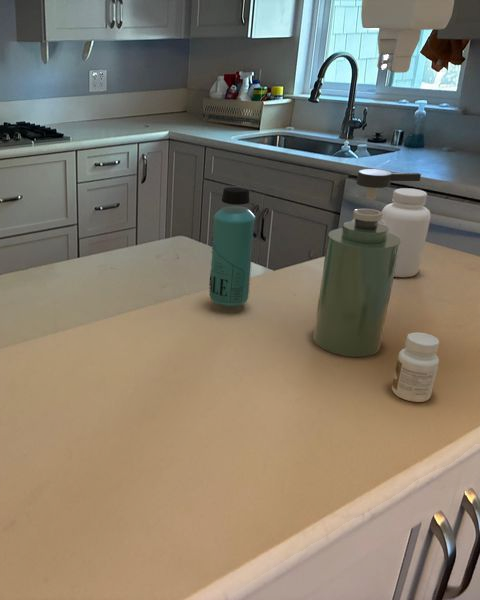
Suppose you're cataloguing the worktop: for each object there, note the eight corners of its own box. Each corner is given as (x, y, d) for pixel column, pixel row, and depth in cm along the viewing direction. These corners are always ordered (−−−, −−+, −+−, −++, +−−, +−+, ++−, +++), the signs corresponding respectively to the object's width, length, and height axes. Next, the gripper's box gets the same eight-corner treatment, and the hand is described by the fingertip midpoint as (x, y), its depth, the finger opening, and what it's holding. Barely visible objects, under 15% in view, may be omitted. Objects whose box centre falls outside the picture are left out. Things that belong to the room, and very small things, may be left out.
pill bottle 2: (397, 380, 80) (409, 326, 76) (435, 392, 77) (448, 337, 74) (385, 394, 77) (397, 339, 74) (424, 407, 74) (437, 350, 71)
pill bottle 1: (416, 281, 110) (433, 199, 103) (367, 273, 113) (381, 193, 107) (420, 267, 116) (437, 188, 110) (374, 260, 120) (388, 184, 113)
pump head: (409, 196, 82) (414, 169, 81) (420, 203, 78) (426, 175, 77) (350, 195, 83) (354, 168, 82) (358, 203, 79) (363, 175, 78)
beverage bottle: (252, 303, 103) (264, 184, 95) (240, 318, 97) (251, 194, 89) (215, 296, 106) (223, 180, 98) (201, 310, 100) (208, 190, 92)
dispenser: (369, 329, 93) (392, 203, 85) (388, 358, 85) (416, 222, 77) (307, 327, 94) (325, 202, 86) (320, 355, 86) (341, 221, 78)
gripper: (488, -76, 59) (455, 77, 65) (412, -52, 78) (392, 65, 83) (418, -73, 60) (392, 77, 66) (360, -50, 78) (343, 66, 84)
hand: (391, 70), depth 75 cm, fingers open, 3 cm apart
